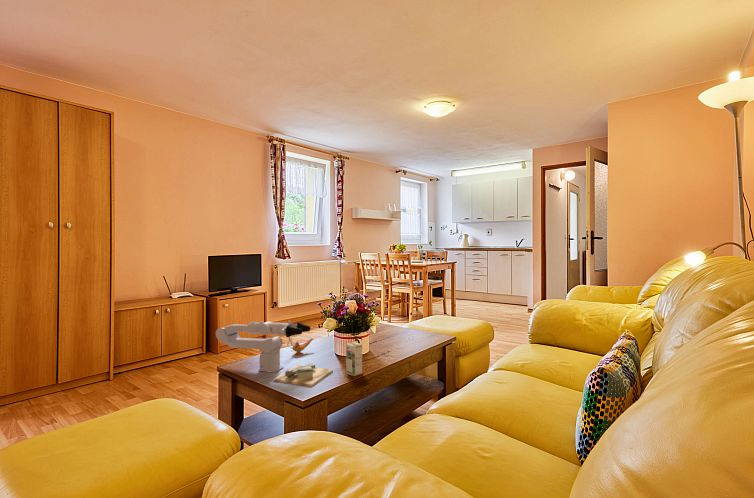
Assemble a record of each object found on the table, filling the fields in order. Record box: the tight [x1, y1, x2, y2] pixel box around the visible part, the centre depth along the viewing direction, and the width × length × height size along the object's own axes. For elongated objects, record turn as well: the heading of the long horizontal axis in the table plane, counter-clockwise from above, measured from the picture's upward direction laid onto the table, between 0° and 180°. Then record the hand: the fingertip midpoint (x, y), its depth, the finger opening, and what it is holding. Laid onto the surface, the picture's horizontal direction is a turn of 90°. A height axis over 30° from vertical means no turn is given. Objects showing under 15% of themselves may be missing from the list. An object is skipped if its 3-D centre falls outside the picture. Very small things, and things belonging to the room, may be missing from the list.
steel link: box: [284, 363, 316, 377], centre depth 176 cm, size 16×4×2 cm, turn 140°
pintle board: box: [272, 365, 334, 387], centre depth 176 cm, size 20×20×2 cm
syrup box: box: [345, 341, 363, 377], centre depth 179 cm, size 6×6×14 cm
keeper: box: [297, 367, 313, 379], centre depth 172 cm, size 6×4×4 cm, turn 110°
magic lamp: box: [286, 336, 314, 357], centre depth 212 cm, size 7×18×11 cm, turn 137°
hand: (305, 330), depth 179 cm, fingers open, 7 cm apart
